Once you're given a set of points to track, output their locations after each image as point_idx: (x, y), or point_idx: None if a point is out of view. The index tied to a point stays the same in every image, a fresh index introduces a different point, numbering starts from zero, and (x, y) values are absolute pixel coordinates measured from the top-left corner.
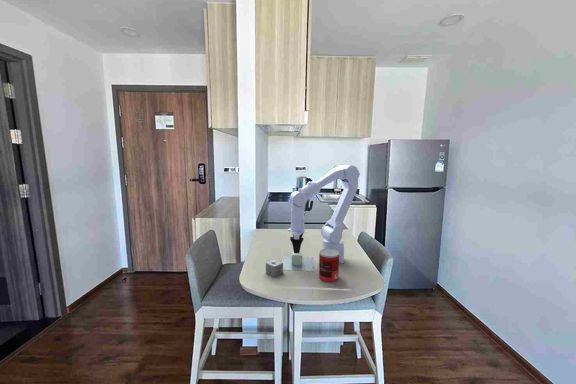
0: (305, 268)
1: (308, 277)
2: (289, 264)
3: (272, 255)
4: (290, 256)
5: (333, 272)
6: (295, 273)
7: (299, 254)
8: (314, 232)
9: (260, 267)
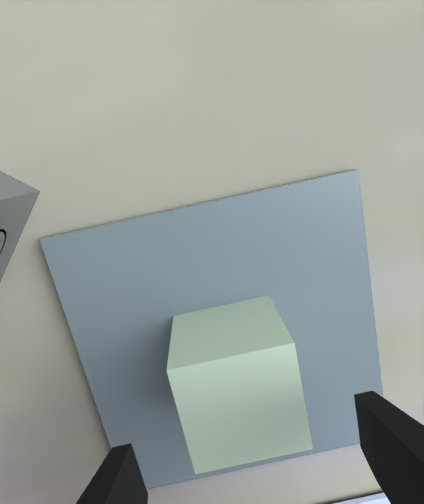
0: (144, 436)
1: (31, 473)
2: (178, 293)
3: (384, 31)
4: (366, 248)
5: None
6: (55, 374)
7: (216, 441)
8: None
9: (37, 12)
